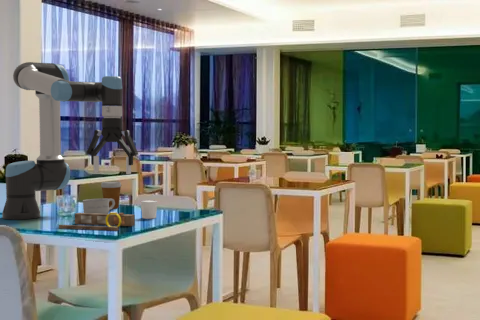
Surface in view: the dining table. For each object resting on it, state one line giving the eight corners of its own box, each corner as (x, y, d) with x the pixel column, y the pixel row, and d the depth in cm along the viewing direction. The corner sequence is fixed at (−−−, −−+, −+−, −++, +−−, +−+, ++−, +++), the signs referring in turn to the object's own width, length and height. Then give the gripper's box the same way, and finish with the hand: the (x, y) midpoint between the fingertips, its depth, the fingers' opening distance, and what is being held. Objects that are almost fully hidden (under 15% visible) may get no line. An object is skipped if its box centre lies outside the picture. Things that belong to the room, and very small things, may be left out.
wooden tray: (58, 228, 266) (58, 216, 266) (78, 222, 281) (78, 211, 280) (117, 230, 260) (117, 218, 259) (134, 225, 274) (134, 213, 274)
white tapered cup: (154, 219, 291) (154, 202, 291) (138, 218, 292) (138, 201, 292) (159, 216, 298) (159, 200, 297) (144, 216, 299) (143, 199, 299)
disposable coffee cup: (119, 209, 323) (119, 183, 323) (99, 209, 324) (98, 183, 323) (123, 206, 333) (123, 181, 332) (103, 207, 333) (103, 181, 332)
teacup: (86, 220, 288) (86, 200, 287) (79, 217, 297) (79, 198, 297) (120, 218, 294) (119, 198, 294) (112, 215, 304) (111, 196, 303)
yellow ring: (121, 228, 268) (122, 212, 268) (118, 229, 265) (119, 213, 265) (107, 226, 270) (108, 210, 269) (104, 227, 267) (104, 211, 267)
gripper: (77, 117, 269) (78, 173, 270) (138, 117, 261) (138, 175, 263) (87, 117, 276) (87, 171, 277) (146, 117, 269) (146, 173, 270)
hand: (112, 173), depth 270 cm, fingers open, 13 cm apart
